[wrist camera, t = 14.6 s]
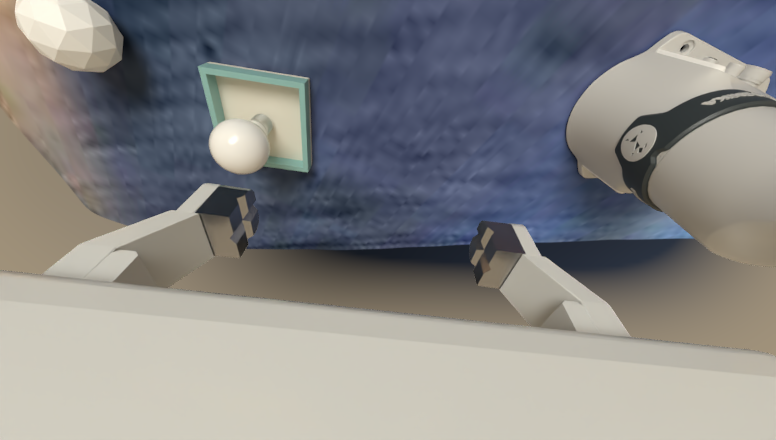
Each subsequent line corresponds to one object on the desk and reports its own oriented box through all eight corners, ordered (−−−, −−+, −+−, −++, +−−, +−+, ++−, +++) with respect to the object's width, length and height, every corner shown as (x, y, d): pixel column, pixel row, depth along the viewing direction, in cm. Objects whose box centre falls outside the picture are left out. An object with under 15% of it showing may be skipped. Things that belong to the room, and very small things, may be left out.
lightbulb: (255, 146, 42) (219, 188, 33) (231, 103, 38) (184, 138, 29) (295, 138, 41) (268, 179, 32) (275, 93, 37) (239, 126, 28)
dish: (309, 78, 36) (304, 83, 34) (312, 164, 44) (308, 172, 42) (209, 61, 35) (197, 66, 33) (230, 152, 43) (222, 160, 41)
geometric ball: (100, 17, 35) (-8, -26, 28) (137, 7, 32) (26, -44, 25) (106, 82, 36) (4, 58, 29) (142, 79, 33) (38, 51, 26)
